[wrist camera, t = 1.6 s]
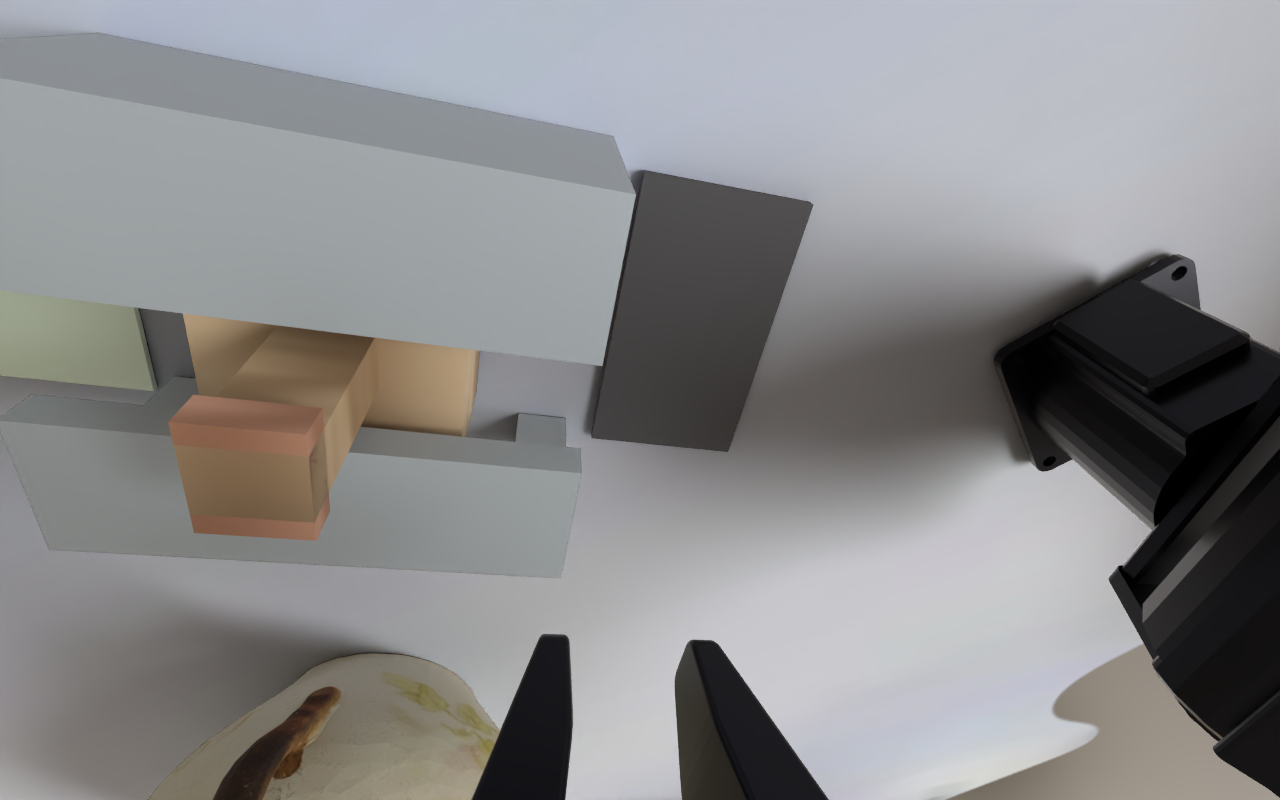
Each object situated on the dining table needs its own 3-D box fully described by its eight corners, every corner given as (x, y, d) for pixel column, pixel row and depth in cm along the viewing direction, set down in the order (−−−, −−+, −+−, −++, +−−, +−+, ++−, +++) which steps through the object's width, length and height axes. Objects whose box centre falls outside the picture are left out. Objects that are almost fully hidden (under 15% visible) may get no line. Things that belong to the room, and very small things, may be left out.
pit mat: (809, 201, 18) (813, 204, 18) (726, 447, 23) (728, 451, 22) (643, 169, 17) (644, 172, 17) (591, 433, 22) (591, 438, 21)
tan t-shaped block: (491, 203, 17) (437, 354, 9) (476, 390, 20) (428, 611, 13) (247, 160, 15) (-25, 296, 8) (272, 366, 19) (89, 595, 11)
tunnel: (613, 136, 16) (636, 194, 11) (561, 446, 22) (560, 578, 17) (98, 32, 14) (-157, 49, 9) (181, 408, 19) (49, 549, 14)
